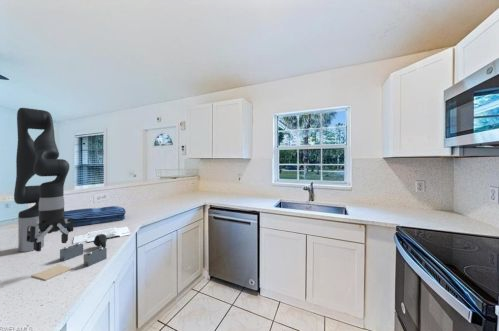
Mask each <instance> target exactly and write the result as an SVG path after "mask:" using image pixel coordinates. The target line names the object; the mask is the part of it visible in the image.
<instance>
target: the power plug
mask: <svg viewBox="0 0 499 331" xmlns="http://www.w3.org/2000/svg"><path fill="white" fill-rule="evenodd" d="M107 241H108V238H107V237H106V235H104V234H100V235H97V236H96V237H95V239H94V241H93V245H94V246H96V247H103V248H106V247H107Z"/></svg>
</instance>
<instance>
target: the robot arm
mask: <svg viewBox="0 0 499 331" xmlns="http://www.w3.org/2000/svg"><path fill="white" fill-rule="evenodd" d="M16 127H17V148H16V156H15V157H16V161H15V162H16V164H15V165H16V166H15V169H16V176H15V185H14V192H13V200H14V203H15V204H17V205H27V204H34V205H32V206H31V207H28V208H25V209H23V210H21V211H19V212H18V216H17V217H18V220H17V221H18V227H17V228H18V230H17V232H18V233H17V234H18V235H17V236H18V240H17V243H18V250H17V251H18V252H19V253H24V252H25V253H26V252H31V251H32V252H33V251H35V252H38V253H39V252H41V251H42V248H43V247H44V245H45V236H46V235H48V234H49V235H50V234H52V233H56V232H60V233H61V240H60V241H61V244H66V243H67V242H68V240H69V233H71V232H73V231H74V227H73V218H66V219H64V211H65V196H64V194H65V193H64V188H65V182H66V179H67V176H68V174H69V171H70V164H69V162H68V161H67V160H66V159H63V158H59V157H60V151H59V149H58V146H57V144H56V139H55V138H56V137H55V130H54V129H55V128H54V120H53V116H52V114H51V112H49V111H47V110H43V109H37V108H29V107H19V108H18V109H17V113H16ZM29 130H39V131H40V130H41V131H42V132H41V133H40V134H38V135H37V137H36V138H35V139H33V138H32V137H31V135H30V134H29ZM58 158H59V159H58ZM35 175H36V176H38V177H55V179H53V180H51V181H46V182H42V183H41V184H40V185H39V184H38V185H27V183H28V182H29V180H30V179H31V178H33V177H34V176H35ZM64 223H66V227H67V228H64V227H63V226H62V225H63V224H64Z"/></svg>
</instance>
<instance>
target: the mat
mask: <svg viewBox="0 0 499 331" xmlns="http://www.w3.org/2000/svg"><path fill="white" fill-rule="evenodd" d="M72 270H74V268H73V267H70V266H67V265H62V264H57V265H55V266H51V267H49V268H47V269H44V270H41V271H39V272H36V273H34V274H32V275H31V277H32V278H36V279H39V280H43V281H48V280H51V279H53V278H55V277H58V276H61V275H62V274H64V273H65V274H66V273H67V272H70V271H72Z"/></svg>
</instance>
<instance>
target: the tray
mask: <svg viewBox="0 0 499 331" xmlns="http://www.w3.org/2000/svg"><path fill="white" fill-rule="evenodd" d="M100 234H104V235H106V237H107V239H108V238H113V237H116V236H117V237H118V236H119V237H124V236H129V235H131V234H132V233H131V231H130V229H129V228H128V226H122V227H116V226H115V227H110V228H106V229H100V230H95V231H89V232H86V234H81V235H75V236H74V237H73V241H72V244H73V245H75V244H76V243H80V244H81V243H85V242H86V243H88V242H89V243H90V242H94V239H95V237H96V236H97V235H100Z"/></svg>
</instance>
